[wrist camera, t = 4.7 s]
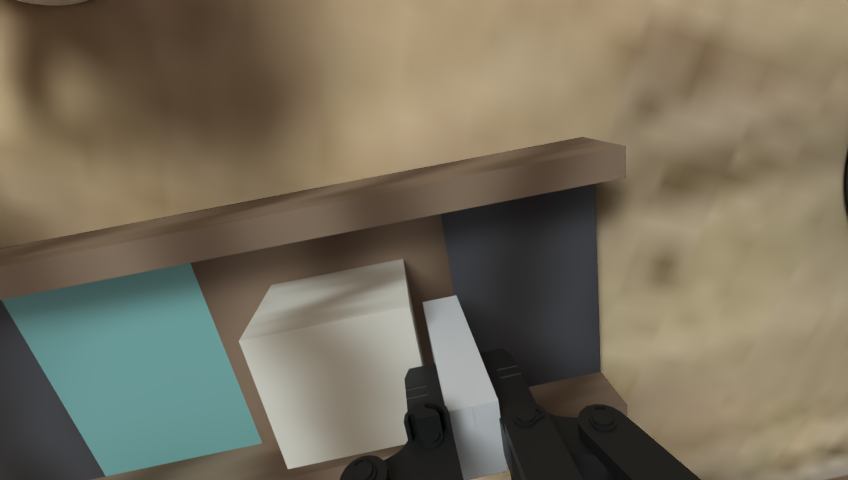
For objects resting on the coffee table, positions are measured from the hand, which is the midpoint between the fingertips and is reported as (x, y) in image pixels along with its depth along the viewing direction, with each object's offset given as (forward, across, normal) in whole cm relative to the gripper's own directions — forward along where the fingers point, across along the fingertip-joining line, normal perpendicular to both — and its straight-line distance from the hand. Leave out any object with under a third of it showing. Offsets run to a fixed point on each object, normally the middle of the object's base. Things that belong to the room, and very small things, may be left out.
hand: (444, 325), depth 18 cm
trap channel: (+3, +8, 0) cm, 9 cm away
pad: (+3, +14, 0) cm, 14 cm away
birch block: (+2, +4, 0) cm, 5 cm away
